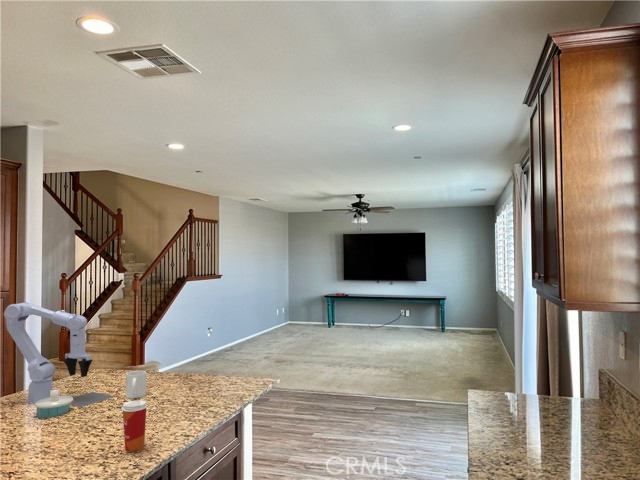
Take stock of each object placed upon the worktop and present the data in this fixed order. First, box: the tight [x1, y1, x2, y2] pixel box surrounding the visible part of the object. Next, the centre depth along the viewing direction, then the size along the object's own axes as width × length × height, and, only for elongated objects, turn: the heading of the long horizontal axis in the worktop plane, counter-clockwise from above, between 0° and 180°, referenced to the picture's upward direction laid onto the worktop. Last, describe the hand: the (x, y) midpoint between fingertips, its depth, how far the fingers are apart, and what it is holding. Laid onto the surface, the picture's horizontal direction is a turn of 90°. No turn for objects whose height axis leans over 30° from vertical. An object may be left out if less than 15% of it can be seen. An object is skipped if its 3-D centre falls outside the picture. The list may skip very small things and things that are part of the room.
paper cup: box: [121, 399, 148, 452], centre depth 146 cm, size 8×8×14 cm
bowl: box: [36, 404, 70, 420], centre depth 180 cm, size 11×11×4 cm
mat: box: [69, 391, 116, 408], centre depth 197 cm, size 16×16×1 cm
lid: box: [34, 388, 74, 409], centre depth 181 cm, size 13×13×5 cm
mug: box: [125, 370, 147, 399], centre depth 199 cm, size 12×8×10 cm
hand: (78, 375), depth 197 cm, fingers open, 7 cm apart
